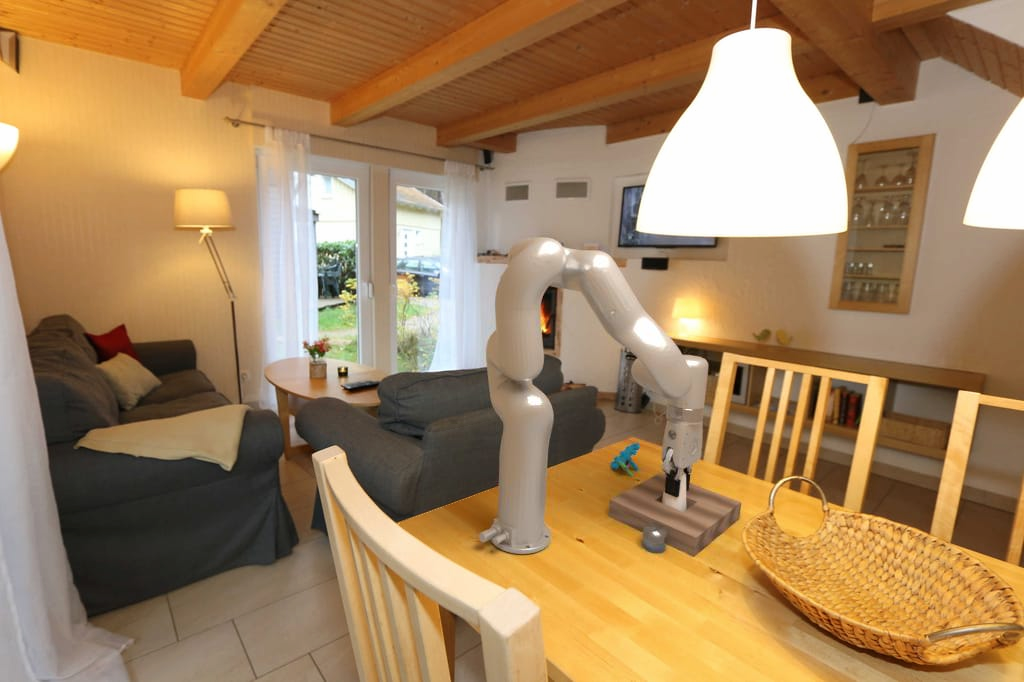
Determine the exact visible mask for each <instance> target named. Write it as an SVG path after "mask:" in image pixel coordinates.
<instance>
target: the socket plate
mask: <svg viewBox="0 0 1024 682" xmlns="http://www.w3.org/2000/svg"><path fill="white" fill-rule="evenodd" d="M665 481H666V477H665V472H659V473H656V475H653V476H651V477H649V478H648V479H646V480H644V481H642V482H640V483H639V484H636V485H634V486H632V487H630V488H629V489H627V490H625V491H623V492H621V493H620V494H618V495H616V496H614V497H612V498H611V499H609V507H608V517H609V518H612V519H614V520H616V521H618V522H620V523H622V524H624V525H626V526H628V527H631V528H633V529H635V530H636V531H639V532H641V533H643V527H644V525H645V524H647V523H657V524H660V525H663V526H664V527H665V528H666V529H667V540H666V545H669V546H670V547H673V548H675V549H676V550H678V551H681V552H682V553H685V554H687V555H690V556H691V557H693V558H694V557H696V555H698V554H699V553H700V552H701V551H703V550H704V549H705V548H706V547H707V546H708V545H710V544H711V543H712V542H714V540H716V539H717V538H718V537H719V536H720V535H723V533H724V532H725V531H726V530H728V529H729V528H730V527H731V526H733V525H735V523H736V522H737V521H739V520H740V516H741V507H742V502H741V501H739V500H736V499H733V498H731V497H728V496H725V495H723V494H720V493H717V492H714V491H712V490H709V489H706V488H705V487H702V486H698V485H696V484H693V483H690V484H689V490H688V491H686V510H685V511H683V512H682V511H680V510H677V509H675V508H672V507H670V506H668V505H665V504H663V503H662V498H663V493H664V489H665Z"/></svg>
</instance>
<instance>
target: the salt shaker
mask: <svg viewBox="0 0 1024 682" xmlns="http://www.w3.org/2000/svg"><path fill="white" fill-rule="evenodd" d="M672 463H673V464H674V462H673V461H672ZM671 469H672V470H674V471H675V472H676V468H673V467H671ZM679 480H681V482H680V492H679V497H674V496H672V495H669V494H667V493H665V489H664V493H663V498H662V503H663V504H665V505H668V506H670V507H672V508H675V509H677V510H680V511H682V512H683V511H685V510H686V474H685V472H684V469H681V470H680V476H679Z"/></svg>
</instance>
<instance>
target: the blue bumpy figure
mask: <svg viewBox="0 0 1024 682" xmlns="http://www.w3.org/2000/svg"><path fill="white" fill-rule="evenodd" d="M640 448H641V446H640V443H639V442H638V441H637V442H632V443H631V445H627V446H626V447H625V449H624V450H623V449H622V450H620V451H619V453H618V456H617V455H616V456H614V458H613V460H612V461H611V462H610V468H611V469H612V470H614V469H615V470H617V469H619V467H621V469H622V470H623V471H624V472H626V473H627V474H628V475H629V476H630V477H631V476H632V477H633V476H634V473H632V471H631V470H630V469H629V468H630V465H631V467H632V468H633V469H634V470H635V471H638V470H639V466H638V465H636V463H635V462H634V461H633V458H632V456H635V455H637V454H638V450H640Z"/></svg>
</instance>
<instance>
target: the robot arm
mask: <svg viewBox="0 0 1024 682" xmlns="http://www.w3.org/2000/svg"><path fill="white" fill-rule="evenodd" d="M506 261H507V266H506V268H505V270H504V272H503V273H502V275H501V277H500V280H499V281H498V283H497V287H496V290H495V291H496V292H495V298H494V300H495V301H494V311H495V313H494V314H495V330H494V331H493V332H492V333H491V335H490V336H489V338H488V340H487V342H486V349H485V361H486V370H487V378H488V379H487V381H488V388H489V389H488V390H489V397H490V401H491V405H492V408H493V409H494V411H495V413H496V414H497V416H498V417H500V420H501V421H502V423H503V425H502V426H503V431H502V436H501V441H500V446H499V447H500V448H499V460H498V461H499V469H498V497H497V499H498V500H497V517H495V518H493V524H491V526H490V528H489V529H486V530H483V531H480V533H478V538H479V541H480V542H481V543H487V542H488V541H490V542H491V543H492V544H493V545H494V546H495V548H498V549H499V550H502V551H504V552H506V553H507V552H508V553H509V554H510V553H511V554H517V555H526V554H527V555H529V554H534V553H537V552H541V551H543V550H545V548H547V547H548V546H549V544H550V543H551V541H552V531H551V529H550V527H549V526H548V525H547V524H546V523H545V518H546V517H545V515H546V514H545V513H546V496H547V494H546V493H547V475H548V457H549V455H548V454H549V448H550V447H549V446H550V439H551V434H552V431H553V424H554V418H555V417H554V410H553V406H552V403H551V401H550V399H549V398H548V397H547V396H546V394H545V393H544V392H543V391H541V389H539V388H538V387H537V386H536V385H534V384H533V380H534V379H536V378H538V376H539V375H540V374H541V372H542V371H543V367H544V363H545V362H544V360H545V353H544V352H545V351H544V344H543V333H542V331H543V330H542V318H541V306H542V300H543V296H544V294H545V293H546V291H547V290H548V288H549V287H554V288H559V289H565V290H569V291H575V292H580V293H581V295H582V296H583V297H584V299H585V300H586V302H587V303H588V305H589V307H590V308H591V310H592V311H593V313H594V315H595V316H596V318H597V319H598V321H599V323H600V324H601V326H602V327H603V329H604V331H605V332H606V333H607V334H608V335H609V336H610V337H611V338H612V339H614V340H615V341H616V342H617V343H618V344H619V345H621V346H623V347H624V348H626V349H627V350H628V351H629V352H631V353H632V354H633V355H634V356H635V357H636V359H635V360H634V361H633V362H632V365H631V369H630V371H631V375H632V378H633V380H634V381H635V382H636V383H637V385H639V386H640V387H642V388H644V389H646V390H648V391H650V392H653V393H655V394H657V395H659V396H660V397H662V398H664V399H667V403H666V415H665V417H666V419H667V420H666V425H665V428H664V433H663V434H664V435H663V439H662V447H661V462H662V465H661V467H660V468H661V471H662V473H664V474H665V477H666V481H665V493H667V494H669V495H672V496H674V497H679V492H680V482H681V480H679V476H680V470H681V469H684V472H685V474H686V491H688V490H689V484H690V481H691V473H692V471H693V464H695V463H697V462H698V461H700V460H701V458H702V449H703V435H704V434H703V433H704V430H703V429H704V428H703V425H704V424H703V423H704V422H703V421H704V420H703V419H704V411H705V401H706V400H705V399H706V393H707V385H708V384H707V383H708V374H709V362H708V361H707V360H706V358H703V357H702V356H698V355H691V354H682V352H681V350H680V348H679V347H678V346H677V344H676V342H674V340H673V339H672V338H671V337H670V336H669V334H668V333H667V332H666V331H665V330H664V329H663V328H662V327H661V326H660V325H659V324H658V323H657V321H656V320H654V318H652V316H651V315H650V314H648V313H647V311H646V310H645V309H644V308H643V306H642V305H641V303H640V302H639V300H638V298H637V297H636V294H635V293H634V291H633V289H632V287H631V286H630V285H629V283H628V281H627V280H626V278H625V276H624V275H623V273H622V271H621V270H620V268H619V267H618V264H617V262H615V260H614V259H613V257H612V256H611V255H610V254H608V253H606V252H604V251H603V250H595V249H594V250H593V249H591V250H589V249H588V250H587V249H581V250H580V249H575V248H574V249H573V248H569V247H565V246H563V245H562V244H561V243H560V242H559V241H558V240H556V239H555V238H552V237H551V238H550V237H545V236H542V237H541V236H538V237H530V238H529V237H527V238H523V239H520V240H518V241H516V242H515V243H514V244H513V245H512V246H511V247H510V249H509V251H508V253H507V258H506ZM672 461H673V462H674V464H673V463H672ZM672 467H673V468H676V472H675V471H674V470H672V469H671V468H672Z"/></svg>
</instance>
